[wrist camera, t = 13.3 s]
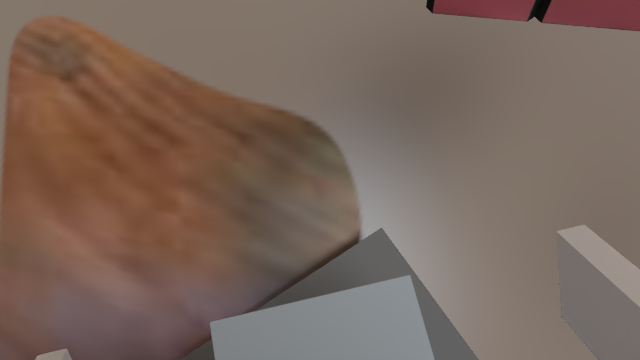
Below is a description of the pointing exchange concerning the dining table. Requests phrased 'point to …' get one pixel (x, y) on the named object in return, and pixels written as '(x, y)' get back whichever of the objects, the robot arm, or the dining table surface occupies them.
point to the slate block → (331, 327)
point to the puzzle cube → (548, 11)
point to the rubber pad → (363, 269)
